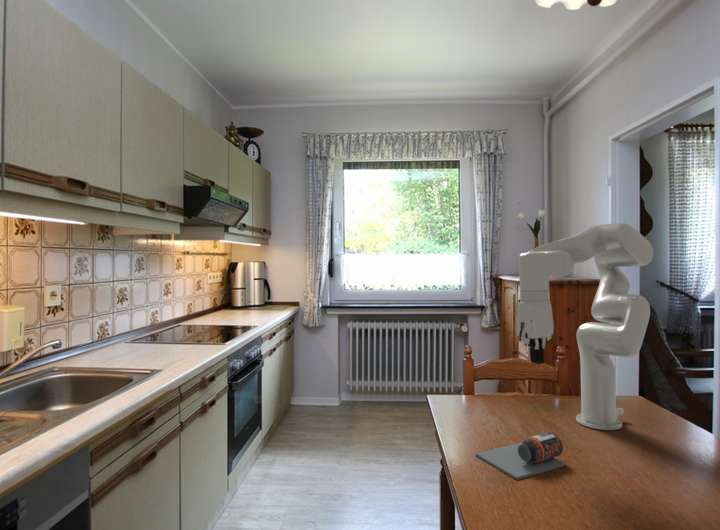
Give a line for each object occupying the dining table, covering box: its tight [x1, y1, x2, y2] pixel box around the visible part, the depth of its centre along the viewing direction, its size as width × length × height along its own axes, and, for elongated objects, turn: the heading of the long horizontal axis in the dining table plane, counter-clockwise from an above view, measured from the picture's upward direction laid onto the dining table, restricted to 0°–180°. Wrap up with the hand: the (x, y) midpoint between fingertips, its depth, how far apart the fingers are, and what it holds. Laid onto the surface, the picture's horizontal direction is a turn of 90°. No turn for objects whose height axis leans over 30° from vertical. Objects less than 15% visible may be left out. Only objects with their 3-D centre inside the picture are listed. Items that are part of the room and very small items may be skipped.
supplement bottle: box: [518, 431, 564, 463], centre depth 104 cm, size 6×6×11 cm
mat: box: [475, 441, 566, 481], centre depth 105 cm, size 16×14×1 cm
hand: (537, 362), depth 115 cm, fingers closed
